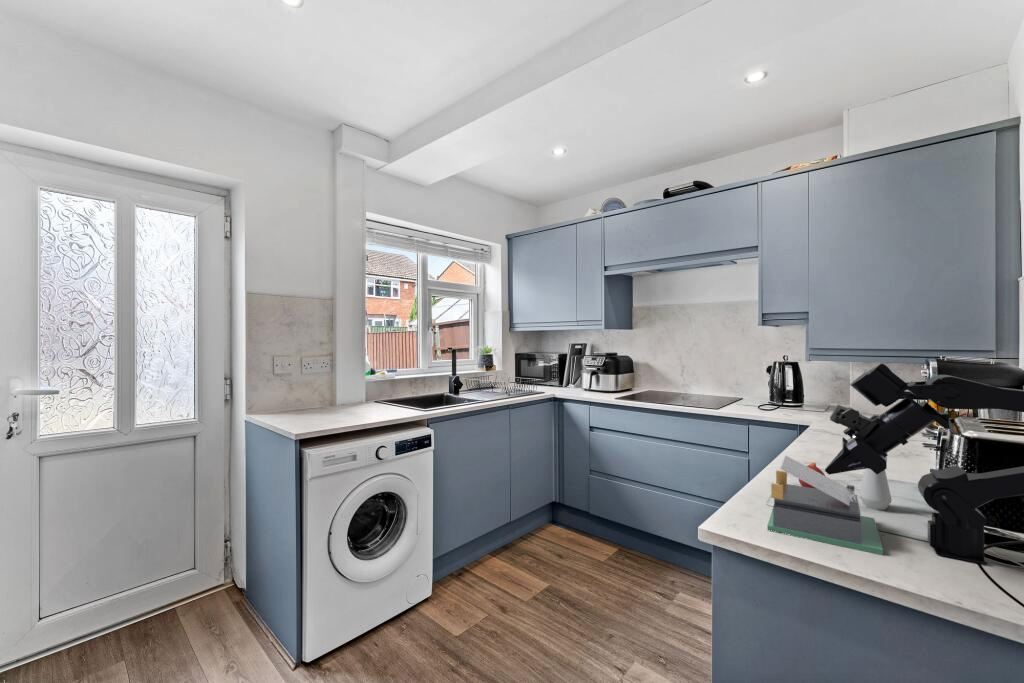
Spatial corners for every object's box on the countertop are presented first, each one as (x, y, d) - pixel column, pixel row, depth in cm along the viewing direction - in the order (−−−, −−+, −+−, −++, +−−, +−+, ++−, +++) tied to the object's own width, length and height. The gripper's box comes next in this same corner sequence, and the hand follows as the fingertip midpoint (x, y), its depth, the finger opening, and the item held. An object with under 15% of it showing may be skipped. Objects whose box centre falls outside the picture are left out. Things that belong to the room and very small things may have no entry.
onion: (801, 496, 108) (801, 464, 108) (796, 489, 114) (796, 458, 114) (829, 499, 106) (829, 466, 106) (823, 491, 111) (822, 460, 111)
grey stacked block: (856, 515, 94) (856, 479, 94) (861, 544, 81) (861, 502, 81) (777, 501, 102) (777, 468, 102) (770, 525, 89) (770, 487, 89)
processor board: (874, 522, 92) (874, 518, 92) (882, 555, 79) (882, 549, 79) (775, 504, 103) (775, 500, 103) (767, 530, 89) (767, 525, 89)
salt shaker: (897, 512, 98) (897, 454, 98) (868, 510, 99) (868, 453, 99) (881, 503, 104) (881, 448, 104) (853, 501, 105) (853, 447, 105)
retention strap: (852, 495, 92) (855, 490, 91) (855, 510, 84) (858, 505, 84) (783, 459, 99) (786, 454, 98) (779, 469, 91) (782, 464, 91)
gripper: (856, 388, 95) (796, 433, 101) (862, 398, 80) (791, 450, 86) (905, 429, 90) (838, 473, 97) (921, 447, 75) (841, 498, 81)
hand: (826, 472), depth 90 cm, fingers closed
